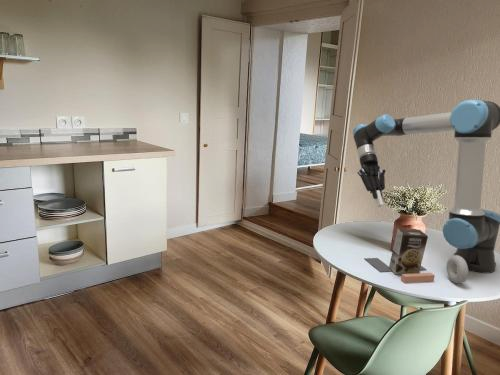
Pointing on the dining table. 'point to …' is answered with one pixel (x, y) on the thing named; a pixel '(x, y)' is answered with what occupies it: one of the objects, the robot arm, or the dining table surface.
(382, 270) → the pads
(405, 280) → the tan rectangular bar
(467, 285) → the dining table surface
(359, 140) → the robot arm
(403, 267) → the coffee box
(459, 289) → the dining table surface
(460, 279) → the donut
